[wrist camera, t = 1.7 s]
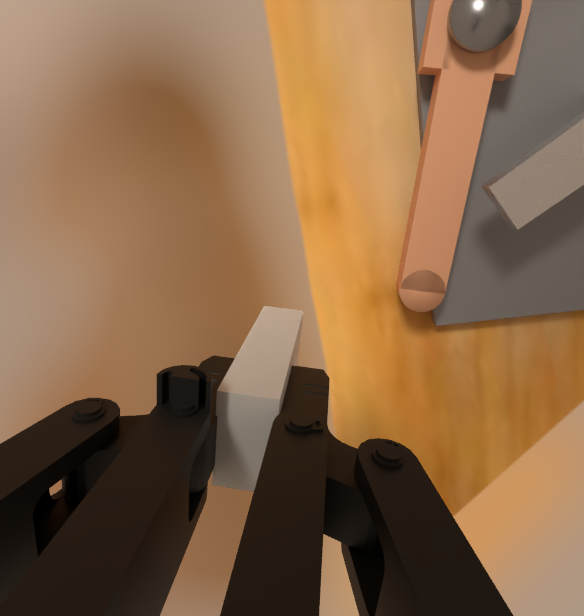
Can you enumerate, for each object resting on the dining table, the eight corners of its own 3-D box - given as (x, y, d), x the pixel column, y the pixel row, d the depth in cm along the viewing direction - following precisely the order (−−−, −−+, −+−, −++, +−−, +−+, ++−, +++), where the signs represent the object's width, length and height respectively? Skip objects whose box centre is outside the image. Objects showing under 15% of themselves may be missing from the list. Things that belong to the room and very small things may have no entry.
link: (434, -25, 25) (441, -41, 23) (525, -19, 25) (540, -34, 23) (378, 298, 32) (380, 307, 30) (449, 307, 31) (456, 316, 29)
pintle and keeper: (443, -6, 26) (468, -48, 21) (687, 12, 25) (773, -27, 20) (404, 209, 30) (417, 218, 25) (611, 233, 29) (667, 246, 24)
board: (405, -85, 26) (408, -96, 24) (665, -151, 23) (682, -168, 22) (432, 320, 33) (435, 325, 32) (630, 298, 31) (641, 303, 30)
